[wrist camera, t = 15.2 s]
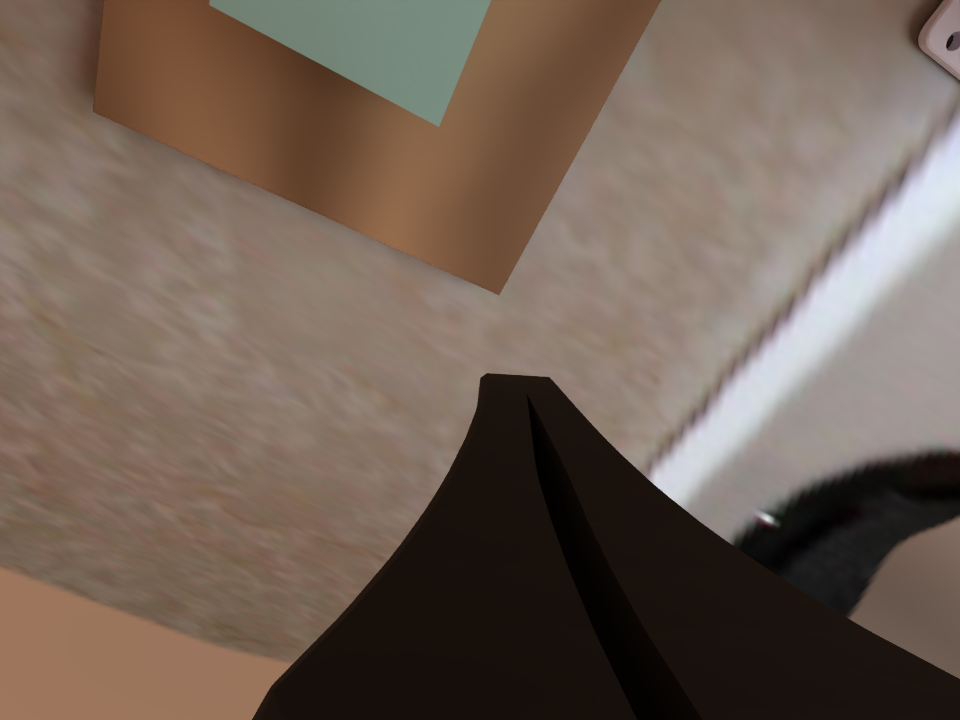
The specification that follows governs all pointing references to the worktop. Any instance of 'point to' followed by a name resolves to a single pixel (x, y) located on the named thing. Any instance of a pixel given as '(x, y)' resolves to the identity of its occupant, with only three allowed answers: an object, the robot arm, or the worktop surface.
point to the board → (379, 120)
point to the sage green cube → (376, 42)
